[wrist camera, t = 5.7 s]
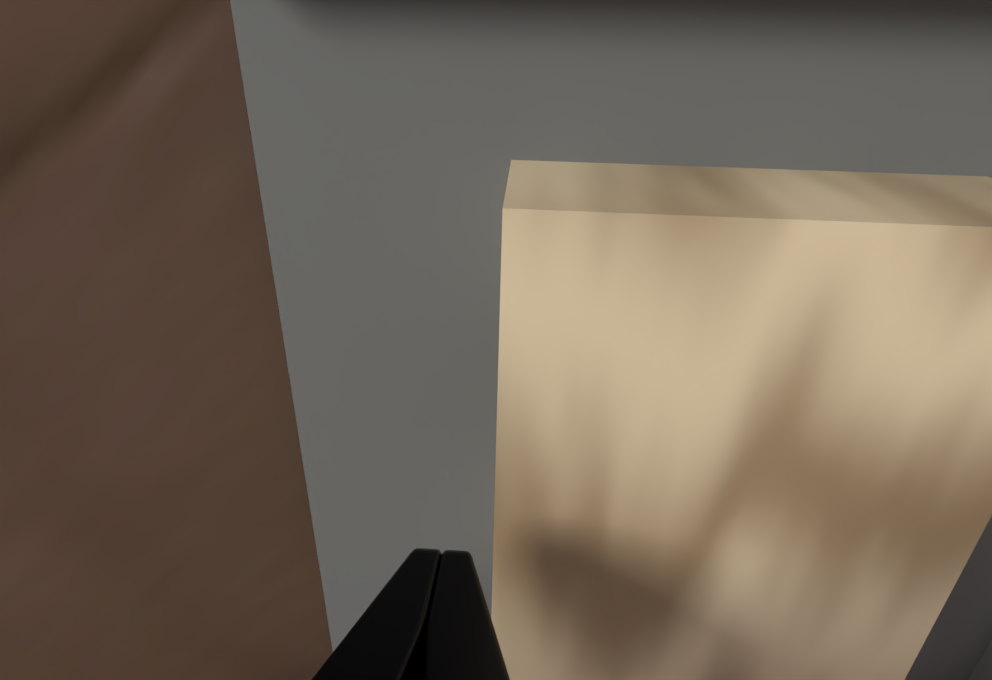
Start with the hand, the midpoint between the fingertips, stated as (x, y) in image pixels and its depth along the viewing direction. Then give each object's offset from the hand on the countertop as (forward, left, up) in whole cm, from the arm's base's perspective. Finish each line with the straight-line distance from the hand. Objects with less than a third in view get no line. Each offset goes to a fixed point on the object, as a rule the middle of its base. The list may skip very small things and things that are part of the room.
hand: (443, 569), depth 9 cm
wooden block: (0, -1, -3) cm, 3 cm away
